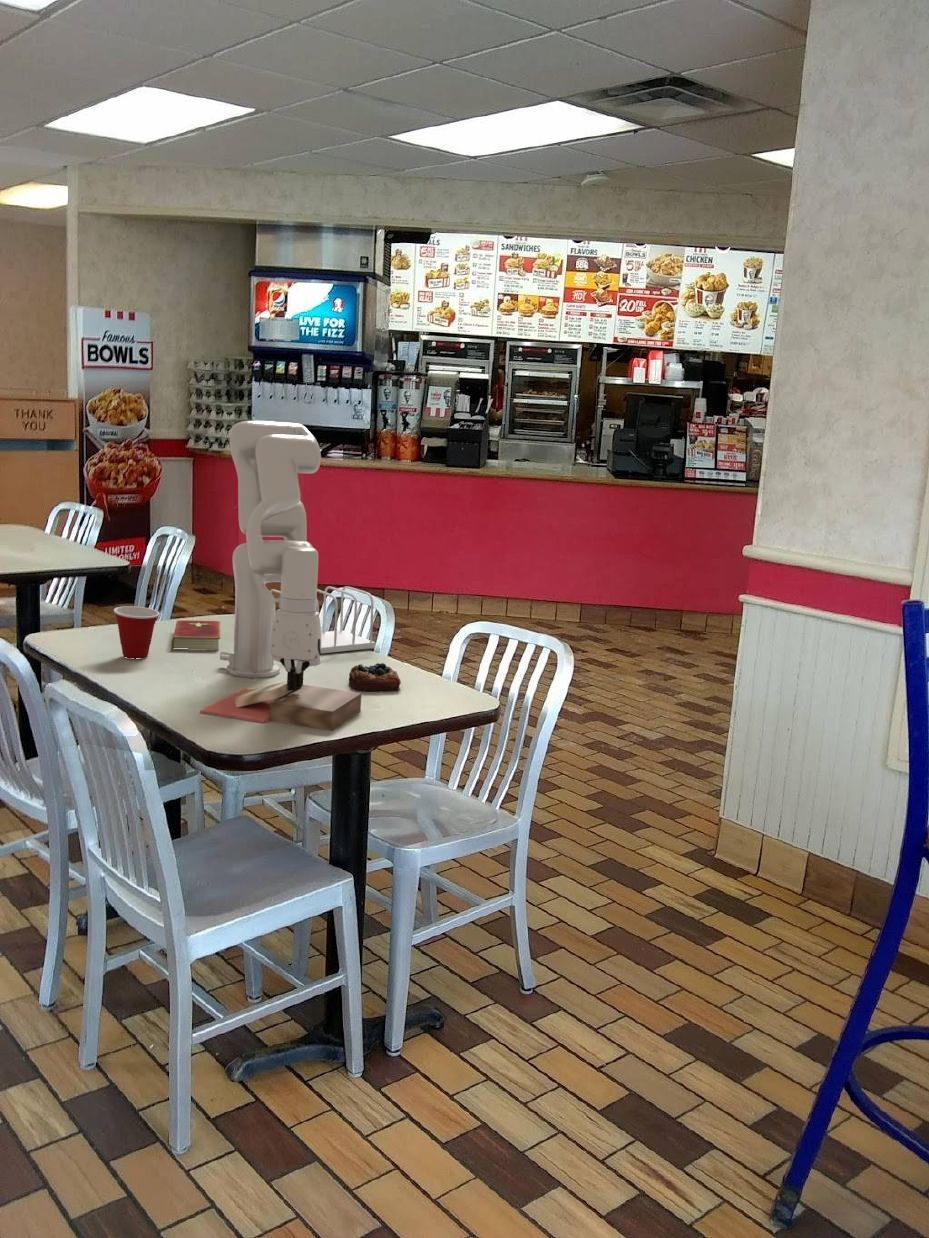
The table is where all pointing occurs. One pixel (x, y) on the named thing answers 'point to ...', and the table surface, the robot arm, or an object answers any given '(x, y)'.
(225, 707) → the mat
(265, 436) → the robot arm
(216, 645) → the hardcover book
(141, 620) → the plastic cup
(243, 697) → the light wooden block
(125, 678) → the table surface
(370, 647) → the file sorter
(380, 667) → the pastry
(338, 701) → the square wooden slab
